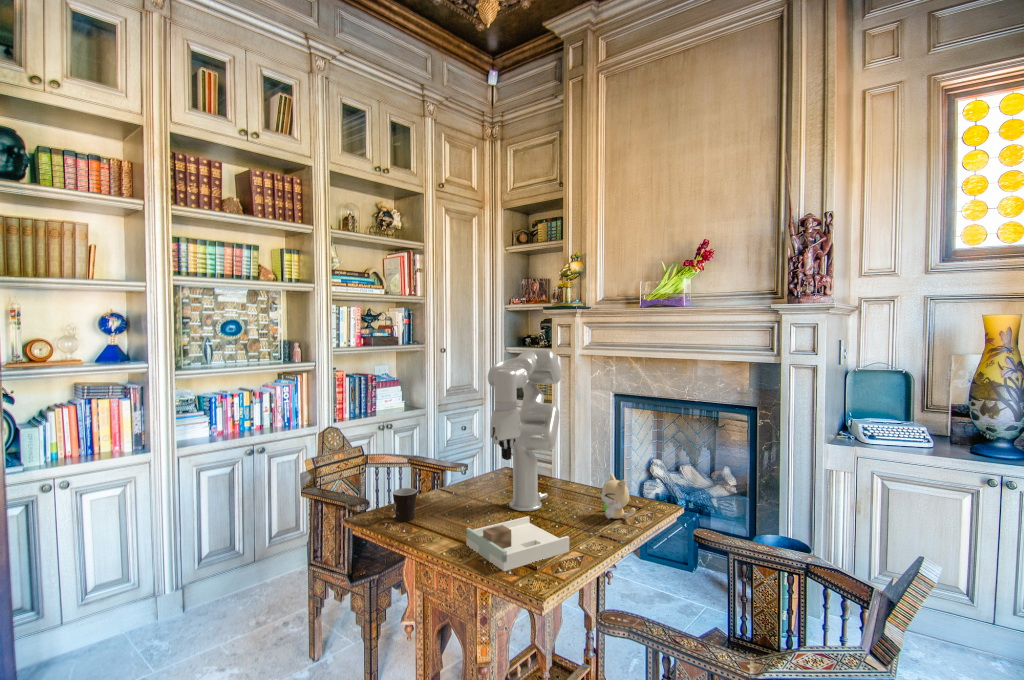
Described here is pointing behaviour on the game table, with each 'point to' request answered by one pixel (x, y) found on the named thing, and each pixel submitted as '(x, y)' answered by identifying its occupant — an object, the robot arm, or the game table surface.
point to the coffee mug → (404, 504)
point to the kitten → (615, 498)
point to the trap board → (517, 544)
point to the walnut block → (498, 536)
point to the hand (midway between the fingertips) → (506, 458)
